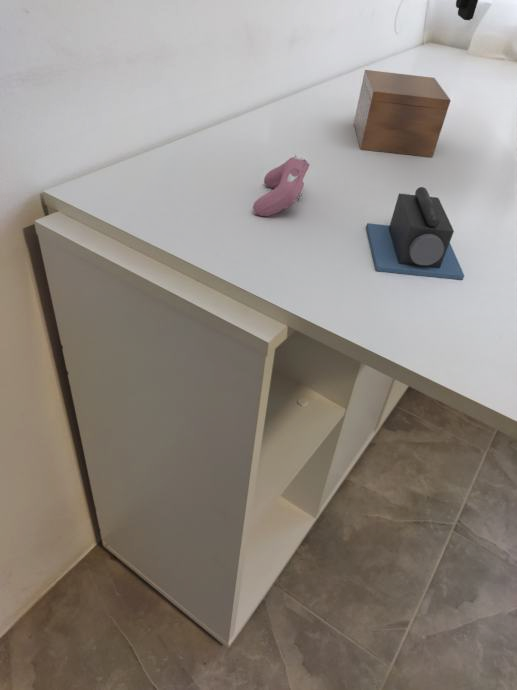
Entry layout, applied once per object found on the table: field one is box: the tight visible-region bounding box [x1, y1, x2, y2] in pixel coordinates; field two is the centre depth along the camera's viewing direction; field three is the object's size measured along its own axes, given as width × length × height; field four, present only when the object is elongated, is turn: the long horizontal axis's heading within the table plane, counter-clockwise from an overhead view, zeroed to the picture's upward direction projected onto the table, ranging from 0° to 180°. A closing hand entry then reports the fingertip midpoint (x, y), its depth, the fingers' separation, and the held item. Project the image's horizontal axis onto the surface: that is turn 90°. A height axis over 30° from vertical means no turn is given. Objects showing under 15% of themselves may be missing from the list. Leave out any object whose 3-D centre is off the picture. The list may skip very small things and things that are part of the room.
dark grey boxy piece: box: [389, 186, 455, 268], centre depth 62 cm, size 5×10×6 cm, turn 178°
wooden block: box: [353, 69, 452, 158], centre depth 89 cm, size 12×12×9 cm
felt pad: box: [365, 222, 465, 281], centre depth 64 cm, size 10×10×1 cm
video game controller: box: [252, 154, 310, 217], centre depth 69 cm, size 10×5×7 cm, turn 170°
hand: (510, 22), depth 54 cm, fingers open, 9 cm apart
